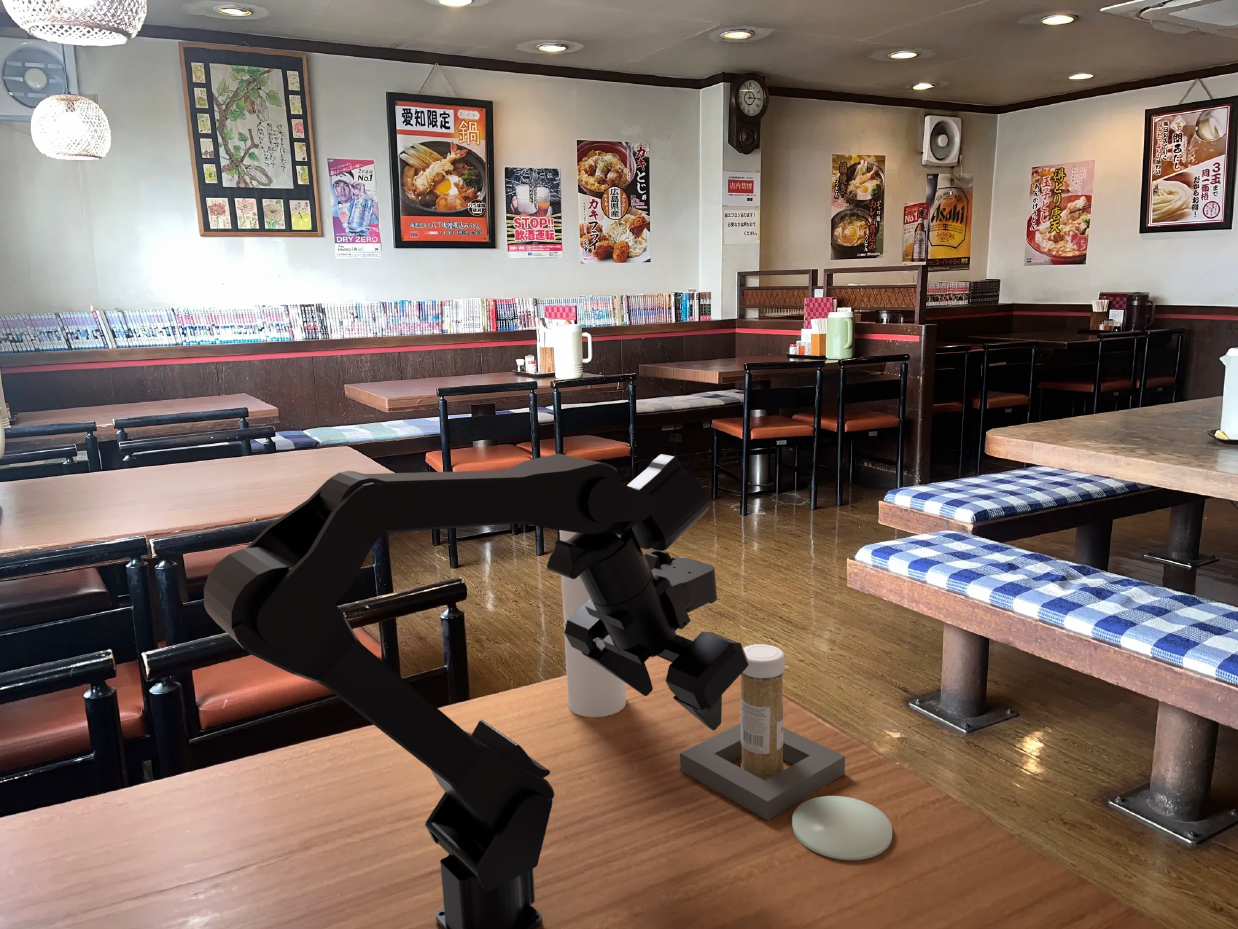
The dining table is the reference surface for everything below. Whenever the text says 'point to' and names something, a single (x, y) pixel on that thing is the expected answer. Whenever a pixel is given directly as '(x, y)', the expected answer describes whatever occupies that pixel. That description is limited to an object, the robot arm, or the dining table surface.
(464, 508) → the robot arm
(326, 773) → the dining table surface
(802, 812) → the coaster
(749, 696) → the sprinkles bottle
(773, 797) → the holder
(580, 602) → the cylindrical container
